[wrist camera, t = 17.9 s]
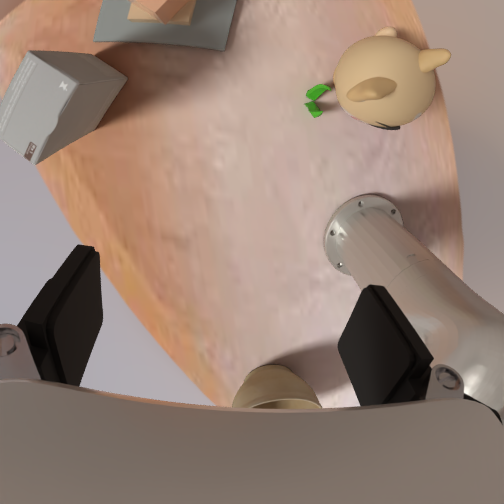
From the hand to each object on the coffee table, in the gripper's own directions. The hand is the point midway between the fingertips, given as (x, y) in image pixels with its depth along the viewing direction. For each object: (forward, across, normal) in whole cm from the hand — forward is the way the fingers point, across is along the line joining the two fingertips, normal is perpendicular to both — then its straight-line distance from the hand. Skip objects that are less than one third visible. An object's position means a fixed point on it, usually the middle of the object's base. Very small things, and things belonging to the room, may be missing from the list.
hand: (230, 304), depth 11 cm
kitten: (+31, -14, -12) cm, 36 cm away
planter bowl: (+31, -15, +40) cm, 52 cm away
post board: (+30, +10, -18) cm, 36 cm away
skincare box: (+30, +17, -5) cm, 35 cm away
